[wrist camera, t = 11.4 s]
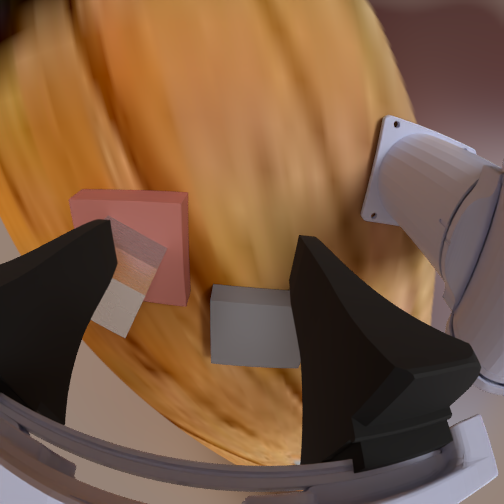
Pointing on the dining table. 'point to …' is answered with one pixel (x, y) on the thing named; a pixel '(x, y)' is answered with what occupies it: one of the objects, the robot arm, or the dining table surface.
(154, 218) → the stand
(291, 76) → the dining table surface
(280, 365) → the stand
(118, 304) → the grey cube
